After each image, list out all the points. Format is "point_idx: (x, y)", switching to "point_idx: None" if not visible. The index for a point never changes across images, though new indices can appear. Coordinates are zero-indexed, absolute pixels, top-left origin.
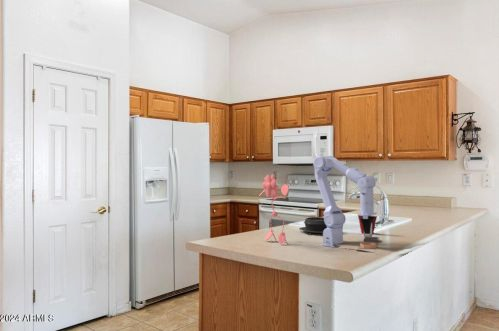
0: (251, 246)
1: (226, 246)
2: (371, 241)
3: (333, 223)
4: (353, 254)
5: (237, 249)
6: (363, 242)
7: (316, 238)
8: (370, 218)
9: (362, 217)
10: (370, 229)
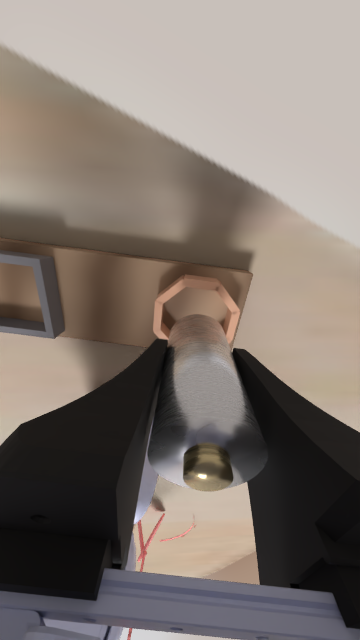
0: (191, 542)
1: (199, 563)
2: (56, 295)
3: (134, 554)
4: (280, 363)
5: (226, 552)
6: (79, 332)
7: None
8: (130, 482)
9: (122, 563)
10: (233, 362)
